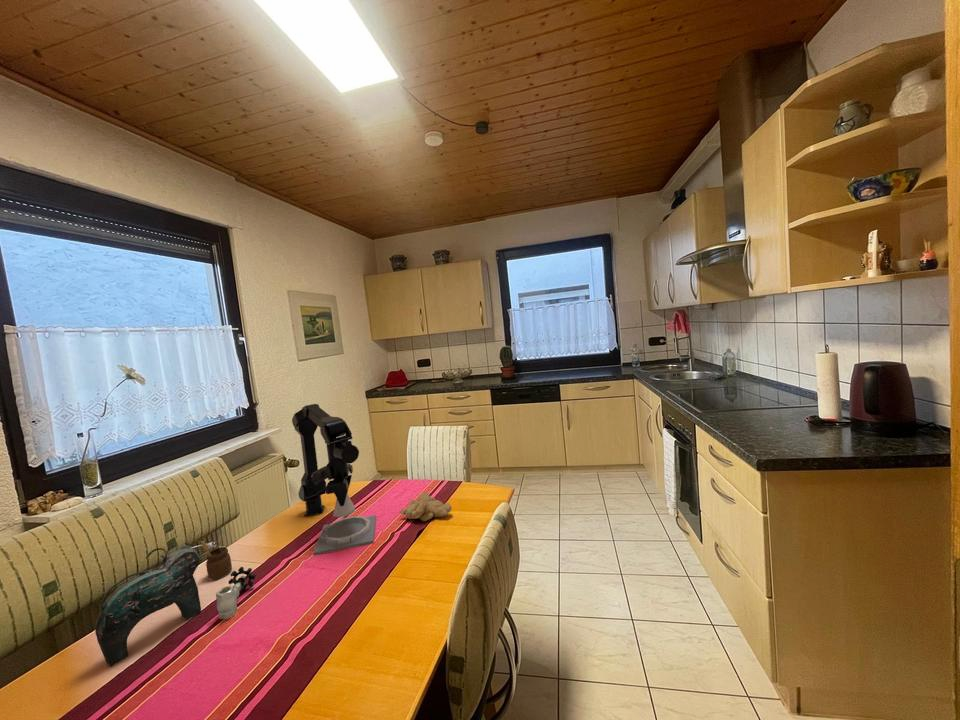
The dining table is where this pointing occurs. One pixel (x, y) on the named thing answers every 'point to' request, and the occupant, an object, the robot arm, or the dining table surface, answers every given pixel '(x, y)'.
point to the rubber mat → (344, 532)
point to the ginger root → (426, 508)
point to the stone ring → (347, 539)
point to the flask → (344, 508)
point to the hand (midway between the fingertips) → (343, 502)
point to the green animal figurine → (147, 600)
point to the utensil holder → (218, 562)
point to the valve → (232, 593)
